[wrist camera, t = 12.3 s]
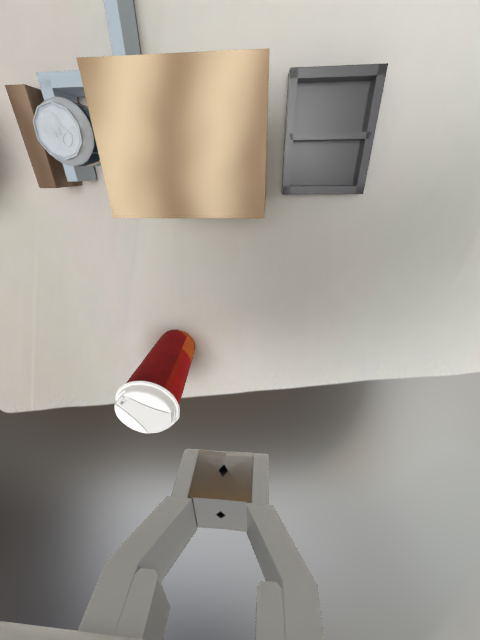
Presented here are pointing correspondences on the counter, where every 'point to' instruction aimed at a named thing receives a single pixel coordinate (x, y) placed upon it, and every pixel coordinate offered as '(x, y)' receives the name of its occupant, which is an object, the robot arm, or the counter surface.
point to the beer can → (66, 132)
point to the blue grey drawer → (70, 82)
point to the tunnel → (181, 132)
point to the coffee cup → (157, 385)
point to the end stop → (42, 162)
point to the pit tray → (330, 127)
